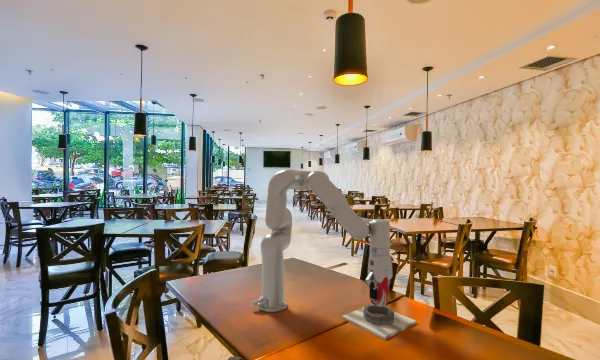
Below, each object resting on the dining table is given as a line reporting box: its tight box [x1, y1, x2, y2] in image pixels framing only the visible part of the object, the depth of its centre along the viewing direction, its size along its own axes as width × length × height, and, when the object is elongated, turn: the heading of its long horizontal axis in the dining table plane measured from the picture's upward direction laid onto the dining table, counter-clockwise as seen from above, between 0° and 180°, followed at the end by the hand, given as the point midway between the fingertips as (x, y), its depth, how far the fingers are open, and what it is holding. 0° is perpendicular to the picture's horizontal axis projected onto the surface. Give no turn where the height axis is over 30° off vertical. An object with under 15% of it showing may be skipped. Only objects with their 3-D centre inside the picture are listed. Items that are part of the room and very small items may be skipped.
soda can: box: [369, 275, 390, 307], centre depth 117 cm, size 7×7×12 cm
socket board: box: [341, 303, 417, 340], centre depth 117 cm, size 20×20×4 cm
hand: (379, 296), depth 117 cm, fingers closed on soda can, 7 cm apart
